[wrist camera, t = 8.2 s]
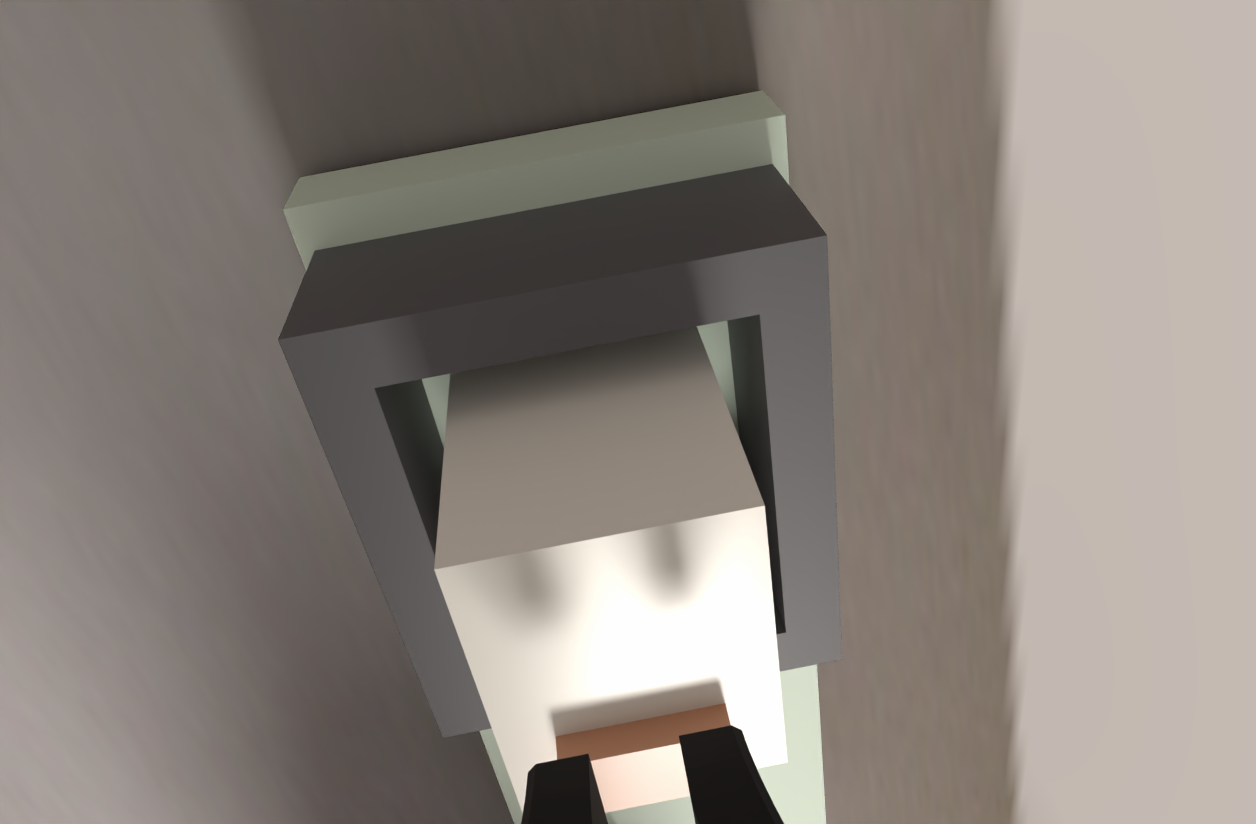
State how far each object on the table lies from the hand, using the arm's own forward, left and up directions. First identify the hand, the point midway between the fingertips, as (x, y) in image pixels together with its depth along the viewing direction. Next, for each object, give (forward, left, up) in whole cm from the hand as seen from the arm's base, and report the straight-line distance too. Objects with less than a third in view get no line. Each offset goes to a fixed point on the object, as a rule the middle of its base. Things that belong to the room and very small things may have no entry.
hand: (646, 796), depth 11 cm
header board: (-5, 0, -9) cm, 11 cm away
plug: (0, 0, -8) cm, 8 cm away
